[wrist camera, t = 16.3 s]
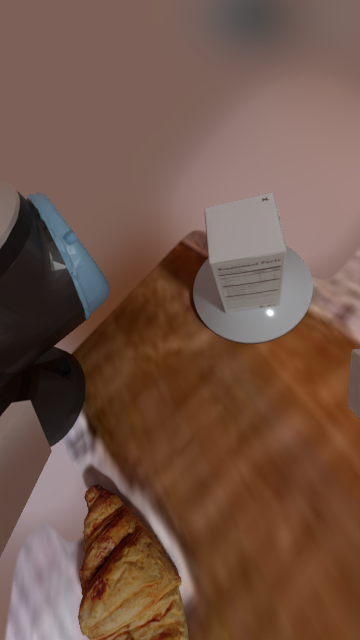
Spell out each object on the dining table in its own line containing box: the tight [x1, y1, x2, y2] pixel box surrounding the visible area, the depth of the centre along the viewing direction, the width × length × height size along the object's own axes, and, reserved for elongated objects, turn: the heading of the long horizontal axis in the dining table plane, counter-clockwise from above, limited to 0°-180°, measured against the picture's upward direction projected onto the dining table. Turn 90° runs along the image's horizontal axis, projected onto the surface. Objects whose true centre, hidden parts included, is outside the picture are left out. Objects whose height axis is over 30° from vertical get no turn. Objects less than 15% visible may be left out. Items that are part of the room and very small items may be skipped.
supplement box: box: [205, 193, 287, 313], centre depth 32 cm, size 7×7×13 cm
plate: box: [193, 246, 313, 344], centre depth 38 cm, size 16×16×1 cm
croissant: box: [78, 484, 189, 640], centre depth 27 cm, size 21×10×8 cm, turn 32°
